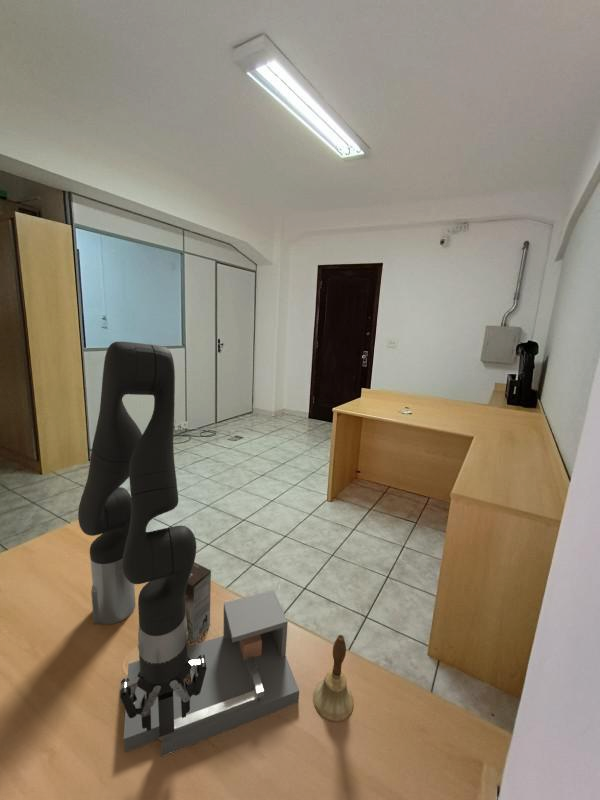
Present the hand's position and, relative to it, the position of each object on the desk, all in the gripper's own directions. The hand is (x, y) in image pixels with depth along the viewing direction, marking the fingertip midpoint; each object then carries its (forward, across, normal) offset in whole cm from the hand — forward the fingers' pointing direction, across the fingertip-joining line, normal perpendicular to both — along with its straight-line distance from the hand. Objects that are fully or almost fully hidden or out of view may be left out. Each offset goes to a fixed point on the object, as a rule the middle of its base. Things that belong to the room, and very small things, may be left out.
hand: (166, 718), depth 62 cm
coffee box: (+6, -6, -24) cm, 26 cm away
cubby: (+6, -9, -7) cm, 13 cm away
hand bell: (+7, -32, +4) cm, 33 cm away
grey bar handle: (+3, -8, -3) cm, 9 cm away
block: (+3, -18, -10) cm, 21 cm away
